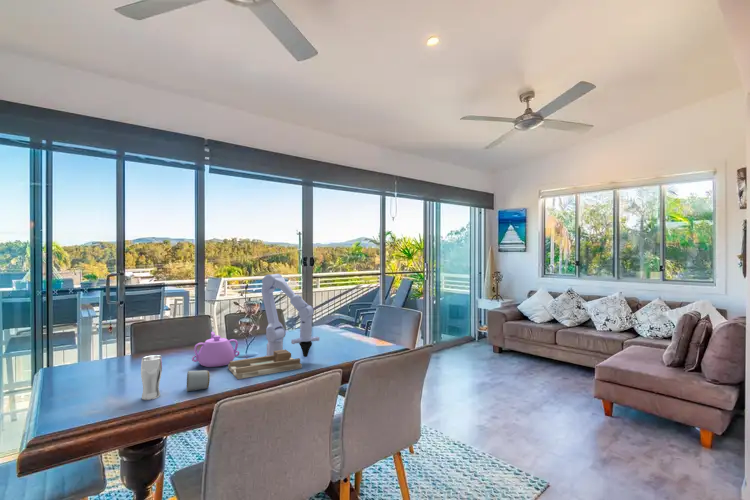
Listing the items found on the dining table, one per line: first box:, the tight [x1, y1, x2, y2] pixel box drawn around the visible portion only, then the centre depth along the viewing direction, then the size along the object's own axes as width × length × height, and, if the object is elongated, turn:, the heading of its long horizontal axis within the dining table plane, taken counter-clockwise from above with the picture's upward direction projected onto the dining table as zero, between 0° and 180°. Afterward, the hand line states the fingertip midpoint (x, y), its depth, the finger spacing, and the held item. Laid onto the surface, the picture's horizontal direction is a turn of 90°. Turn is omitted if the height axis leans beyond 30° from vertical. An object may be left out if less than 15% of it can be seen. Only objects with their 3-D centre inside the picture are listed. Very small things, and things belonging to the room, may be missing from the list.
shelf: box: [227, 352, 303, 380], centre depth 181 cm, size 17×30×4 cm, turn 124°
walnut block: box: [273, 349, 291, 362], centre depth 186 cm, size 6×6×5 cm
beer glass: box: [140, 354, 163, 401], centre depth 144 cm, size 7×7×15 cm
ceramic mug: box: [186, 369, 211, 392], centre depth 154 cm, size 11×8×8 cm
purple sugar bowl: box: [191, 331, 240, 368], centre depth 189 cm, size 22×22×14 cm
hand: (305, 356), depth 193 cm, fingers closed
